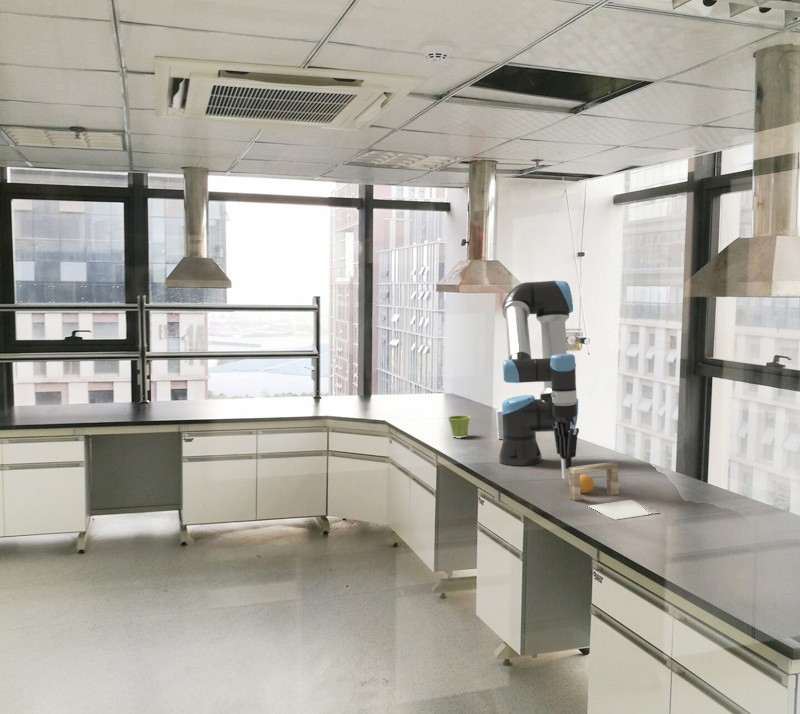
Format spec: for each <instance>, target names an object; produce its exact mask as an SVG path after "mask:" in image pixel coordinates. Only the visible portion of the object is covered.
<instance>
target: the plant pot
mask: <svg viewBox="0 0 800 714" xmlns="http://www.w3.org/2000/svg"><path fill="white" fill-rule="evenodd" d="M447 419H448V421H449V424H450V428H451V434H452V436H453V435H454V436H465V435H467V436H468V432H469V422H470V419H471V416H470V415H466V414H465V415H464V414H462V415H461V414H460V415H452V416H449V417H447Z"/></svg>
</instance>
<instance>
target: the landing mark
mask: <svg viewBox="0 0 800 714" xmlns="http://www.w3.org/2000/svg"><path fill="white" fill-rule="evenodd" d="M638 503H639V502H637V501H635V500H633V499H627V500H619V501H613V502H611V501H610V502H605V503H604V502H603V503H598V504H590V505H587V506H588V507H587V508H589V507H590V508H589V509H591V508H592V509H591V510H593V509H594V510H593V511H595V510H596V511H595V512H597V511H598V512H597V513H599V512H600V513H599V514H601V513H602V515H603V516H605V517H608V518H609V517H610V518H609V519H611V518H612V519H611V520H613V519H614V520H613V521H618V519H619V520H624V519H625V518H626V519H630V518H638V517H644V515H646V516H649V515H648V513H649V512H647V511H648V510H647V511H646V510H645V509H644V508H643V507H642V506H641V505H640V504H641V503H639V505H640V506H639V505H638ZM641 507H642V508H641ZM649 514H651V512H650V513H649Z"/></svg>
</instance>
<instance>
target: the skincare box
mask: <svg viewBox="0 0 800 714" xmlns="http://www.w3.org/2000/svg"><path fill="white" fill-rule="evenodd" d="M495 414H496V415H495V416H496V419H495V420H496V432H497V433H496V434H497V439H498V438H499V439H503V416H502V409H495ZM499 439H498V440H499Z"/></svg>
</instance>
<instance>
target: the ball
mask: <svg viewBox="0 0 800 714" xmlns="http://www.w3.org/2000/svg"><path fill="white" fill-rule="evenodd" d="M594 486H595V482H594V479H593V477H591V476H590V475H588V474H580V492H581V493H582V494H587V493H590V492H591V491H592V490H593V489H594Z"/></svg>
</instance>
